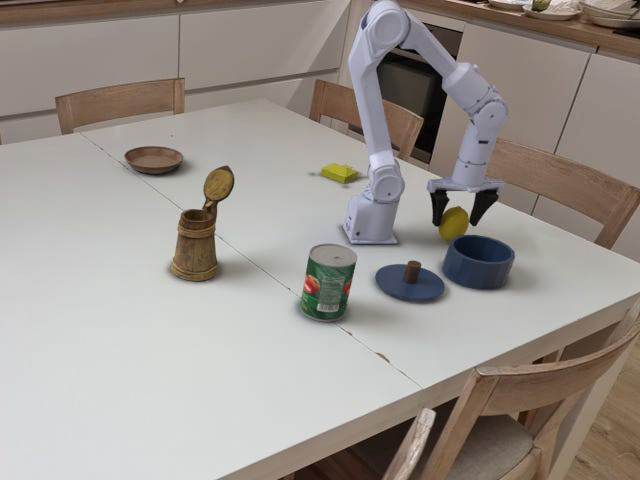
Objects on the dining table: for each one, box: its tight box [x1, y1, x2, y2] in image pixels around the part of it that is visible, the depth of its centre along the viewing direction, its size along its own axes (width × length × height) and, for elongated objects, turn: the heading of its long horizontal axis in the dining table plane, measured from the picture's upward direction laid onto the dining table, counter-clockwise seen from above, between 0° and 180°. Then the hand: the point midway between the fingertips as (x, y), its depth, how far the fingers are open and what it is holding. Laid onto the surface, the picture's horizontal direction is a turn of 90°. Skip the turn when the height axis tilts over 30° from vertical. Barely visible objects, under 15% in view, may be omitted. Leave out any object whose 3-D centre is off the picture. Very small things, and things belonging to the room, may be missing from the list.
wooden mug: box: [170, 164, 236, 282], centre depth 125 cm, size 9×14×18 cm, turn 141°
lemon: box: [437, 205, 470, 244], centre depth 137 cm, size 6×6×8 cm
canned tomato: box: [299, 243, 358, 323], centre depth 115 cm, size 8×8×11 cm
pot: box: [441, 234, 516, 291], centre depth 127 cm, size 11×11×6 cm
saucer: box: [123, 145, 184, 175], centre depth 169 cm, size 15×15×3 cm
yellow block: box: [312, 162, 360, 188], centre depth 166 cm, size 10×9×3 cm
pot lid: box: [374, 259, 446, 302], centre depth 124 cm, size 12×12×5 cm
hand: (453, 224), depth 137 cm, fingers open, 7 cm apart
